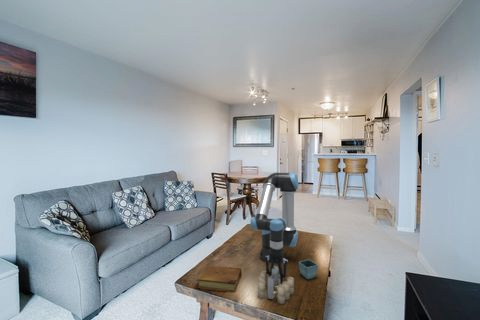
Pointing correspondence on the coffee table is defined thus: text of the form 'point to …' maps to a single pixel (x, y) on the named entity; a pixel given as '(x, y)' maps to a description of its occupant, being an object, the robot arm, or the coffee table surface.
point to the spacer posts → (282, 290)
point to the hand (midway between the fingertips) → (276, 287)
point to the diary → (220, 278)
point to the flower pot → (308, 269)
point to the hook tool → (273, 282)
